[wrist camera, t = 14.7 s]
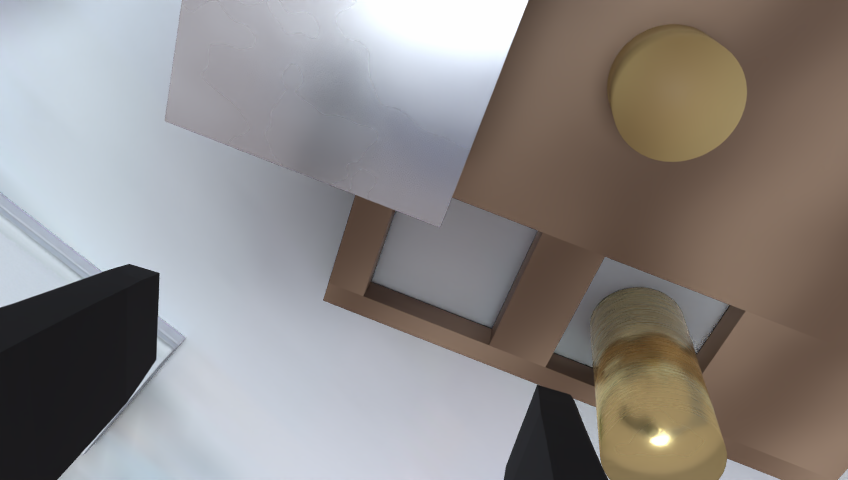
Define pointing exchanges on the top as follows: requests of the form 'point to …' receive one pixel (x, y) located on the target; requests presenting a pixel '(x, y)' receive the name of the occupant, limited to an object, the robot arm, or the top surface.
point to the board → (666, 204)
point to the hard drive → (54, 275)
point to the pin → (651, 392)
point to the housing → (346, 88)
